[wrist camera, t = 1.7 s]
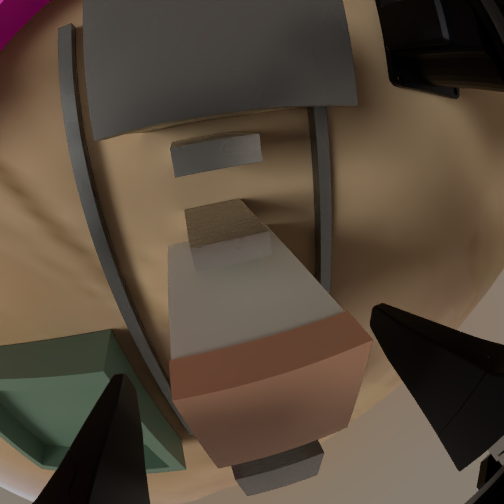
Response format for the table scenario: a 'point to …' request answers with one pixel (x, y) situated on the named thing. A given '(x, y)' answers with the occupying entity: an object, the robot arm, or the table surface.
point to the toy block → (16, 16)
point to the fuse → (260, 355)
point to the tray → (72, 399)
